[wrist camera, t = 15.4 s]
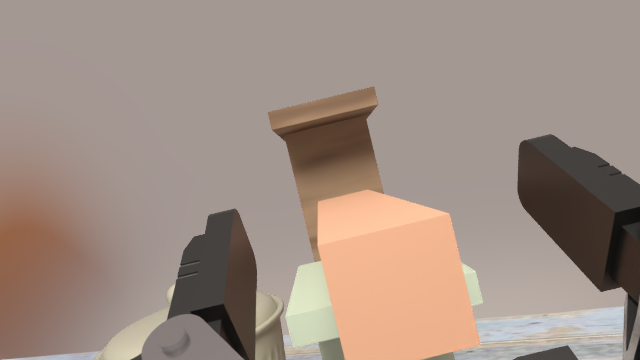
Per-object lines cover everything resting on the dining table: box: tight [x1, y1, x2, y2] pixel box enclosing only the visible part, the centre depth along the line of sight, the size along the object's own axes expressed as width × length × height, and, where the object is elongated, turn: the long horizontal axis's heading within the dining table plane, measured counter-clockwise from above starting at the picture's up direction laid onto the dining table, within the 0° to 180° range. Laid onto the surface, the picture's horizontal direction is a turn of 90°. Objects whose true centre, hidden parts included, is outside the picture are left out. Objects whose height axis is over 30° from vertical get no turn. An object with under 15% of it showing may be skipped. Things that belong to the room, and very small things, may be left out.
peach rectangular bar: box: [317, 190, 481, 360], centre depth 23 cm, size 21×4×4 cm, turn 1°
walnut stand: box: [268, 87, 384, 262], centre depth 43 cm, size 13×9×34 cm
